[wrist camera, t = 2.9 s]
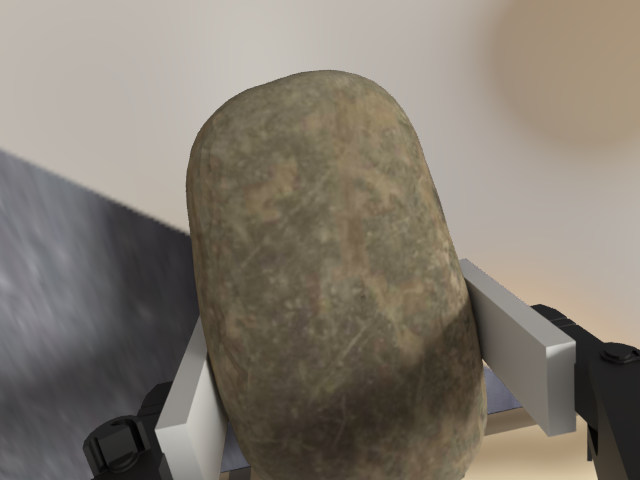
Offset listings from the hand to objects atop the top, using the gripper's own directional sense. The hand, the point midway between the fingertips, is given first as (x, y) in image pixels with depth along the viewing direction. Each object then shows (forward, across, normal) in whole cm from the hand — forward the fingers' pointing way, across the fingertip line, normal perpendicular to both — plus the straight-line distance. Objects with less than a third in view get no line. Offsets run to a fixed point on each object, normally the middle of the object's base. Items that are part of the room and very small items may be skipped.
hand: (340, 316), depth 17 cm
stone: (+1, 0, +2) cm, 2 cm away
